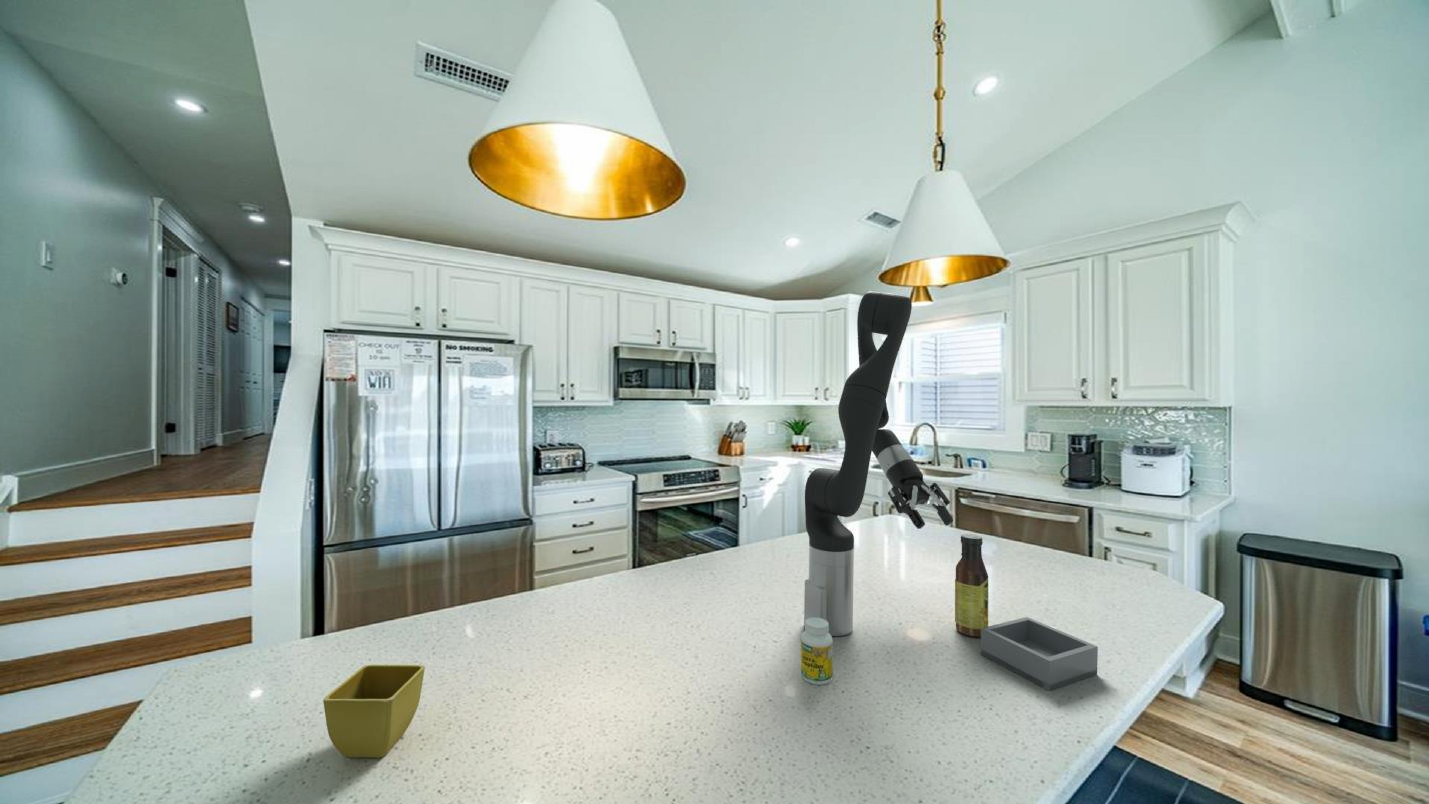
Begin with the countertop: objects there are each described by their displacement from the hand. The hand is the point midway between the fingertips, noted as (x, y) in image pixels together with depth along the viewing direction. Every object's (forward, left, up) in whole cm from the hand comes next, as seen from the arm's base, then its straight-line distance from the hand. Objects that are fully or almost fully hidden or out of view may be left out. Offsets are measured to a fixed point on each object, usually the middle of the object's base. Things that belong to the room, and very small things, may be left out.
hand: (936, 525), depth 115 cm
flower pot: (-106, -2, -20) cm, 108 cm away
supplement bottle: (-40, -11, -20) cm, 46 cm away
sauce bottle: (0, -9, -20) cm, 22 cm away
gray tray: (0, -23, -20) cm, 31 cm away
